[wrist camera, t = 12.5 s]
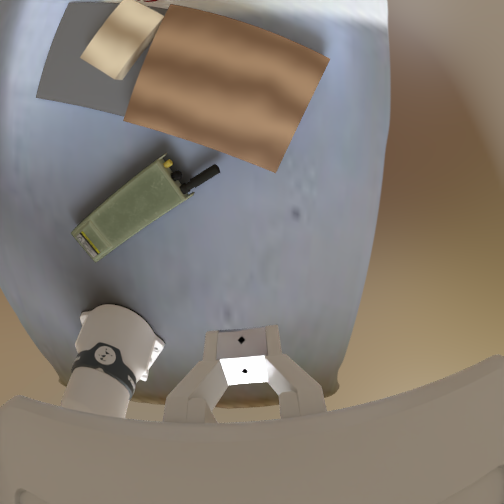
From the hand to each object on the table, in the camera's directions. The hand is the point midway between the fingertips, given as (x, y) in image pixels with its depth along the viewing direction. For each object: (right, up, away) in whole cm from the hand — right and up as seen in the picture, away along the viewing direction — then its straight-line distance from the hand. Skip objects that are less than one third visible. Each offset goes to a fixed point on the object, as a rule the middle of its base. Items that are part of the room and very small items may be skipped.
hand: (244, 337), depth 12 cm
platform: (-3, +25, +19) cm, 31 cm away
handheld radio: (-14, +8, +26) cm, 31 cm away
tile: (-16, +31, +14) cm, 38 cm away
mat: (-21, +31, +14) cm, 40 cm away
